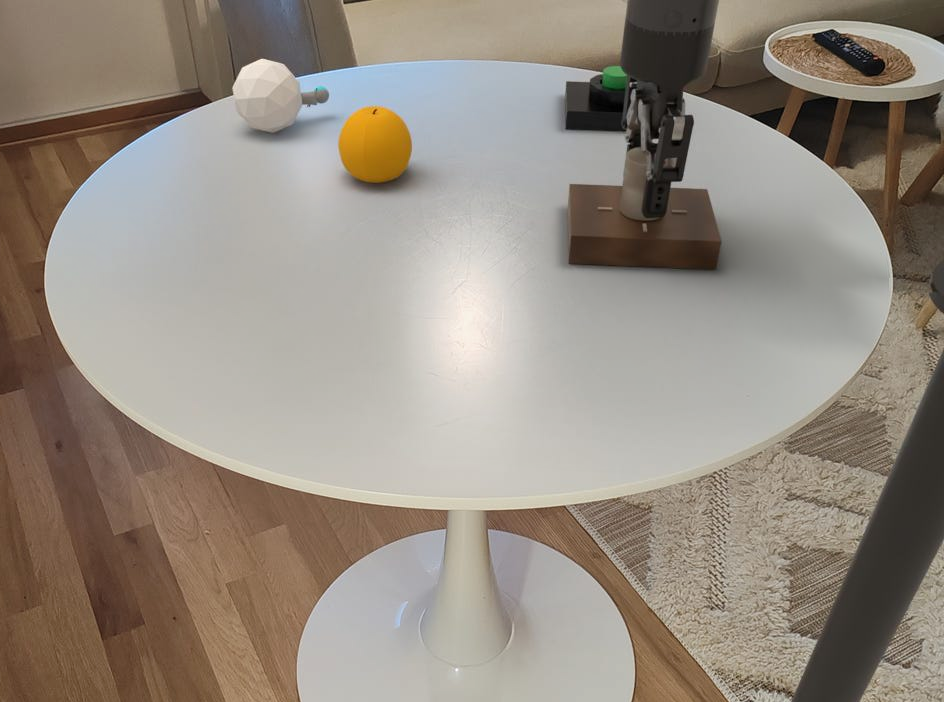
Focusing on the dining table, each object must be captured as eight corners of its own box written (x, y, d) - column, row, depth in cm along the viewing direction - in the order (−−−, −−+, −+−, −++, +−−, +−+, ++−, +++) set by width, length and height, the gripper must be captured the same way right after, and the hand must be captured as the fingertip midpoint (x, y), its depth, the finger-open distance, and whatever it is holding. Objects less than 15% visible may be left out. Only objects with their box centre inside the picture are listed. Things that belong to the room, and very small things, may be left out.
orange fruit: (369, 155, 106) (365, 89, 101) (426, 171, 103) (425, 103, 98) (326, 181, 101) (319, 112, 96) (385, 198, 98) (381, 128, 93)
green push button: (630, 80, 114) (632, 66, 113) (632, 91, 112) (634, 76, 111) (601, 79, 115) (602, 65, 113) (602, 90, 112) (603, 75, 111)
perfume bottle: (215, 91, 111) (304, 83, 117) (241, 150, 110) (329, 139, 116) (229, 45, 104) (323, 40, 110) (256, 107, 103) (349, 98, 109)
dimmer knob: (610, 205, 91) (617, 148, 87) (648, 196, 92) (656, 140, 88) (635, 224, 88) (644, 166, 84) (673, 215, 89) (683, 157, 85)
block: (657, 101, 119) (662, 69, 116) (664, 132, 112) (669, 99, 109) (564, 98, 120) (567, 66, 117) (565, 129, 112) (568, 95, 110)
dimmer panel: (702, 216, 96) (707, 187, 94) (715, 269, 88) (722, 239, 86) (567, 210, 96) (569, 182, 94) (568, 263, 88) (571, 233, 86)
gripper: (741, 41, 73) (702, 232, 84) (690, -11, 84) (661, 165, 95) (648, 43, 72) (622, 235, 84) (608, -10, 83) (590, 167, 94)
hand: (643, 197), depth 89 cm, fingers open, 7 cm apart
